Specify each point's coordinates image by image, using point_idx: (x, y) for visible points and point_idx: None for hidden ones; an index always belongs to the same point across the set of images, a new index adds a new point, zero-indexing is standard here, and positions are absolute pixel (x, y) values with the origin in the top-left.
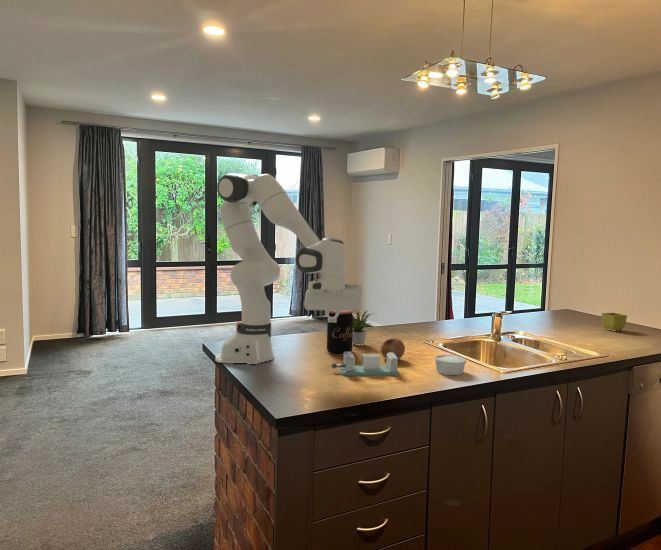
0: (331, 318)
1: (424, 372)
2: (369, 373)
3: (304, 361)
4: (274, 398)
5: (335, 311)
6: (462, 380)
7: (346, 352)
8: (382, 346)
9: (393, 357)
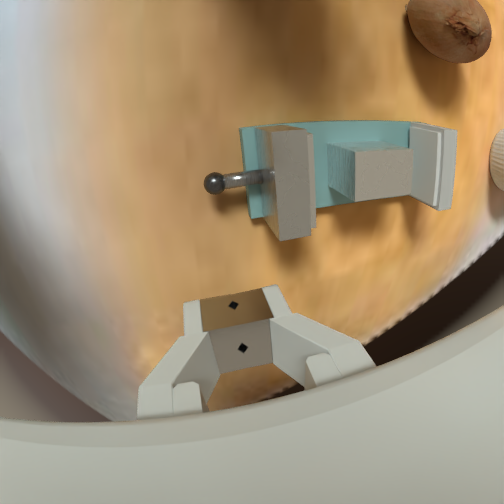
0: (232, 367)
1: (470, 159)
2: (344, 201)
3: (77, 54)
4: (104, 396)
5: (307, 367)
6: (498, 214)
7: (285, 149)
8: (432, 18)
9: (444, 199)
